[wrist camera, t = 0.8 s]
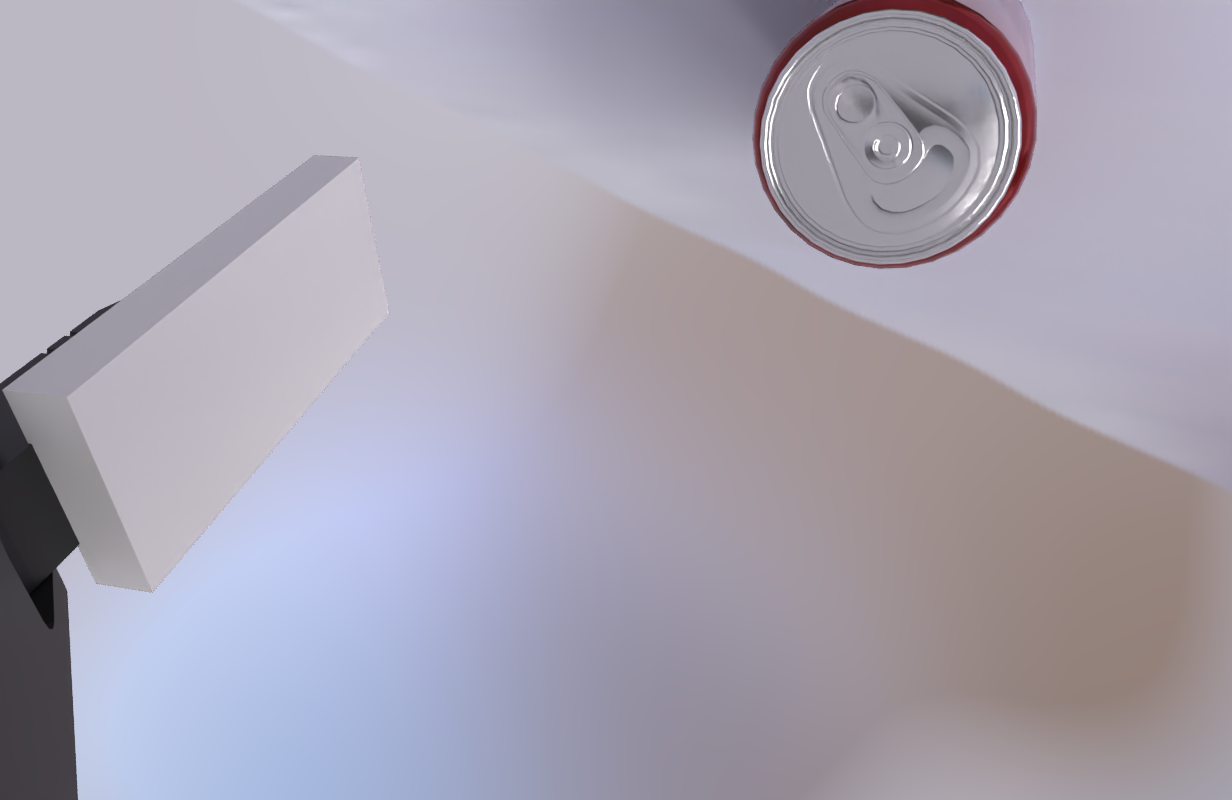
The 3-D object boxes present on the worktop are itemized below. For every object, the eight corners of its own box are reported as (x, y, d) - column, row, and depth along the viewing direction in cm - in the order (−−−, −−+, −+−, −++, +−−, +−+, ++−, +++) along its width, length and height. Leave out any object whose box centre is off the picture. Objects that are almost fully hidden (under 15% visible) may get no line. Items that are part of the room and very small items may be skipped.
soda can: (1073, 89, 33) (1093, 186, 24) (888, 199, 37) (839, 321, 28) (965, -96, 32) (939, -74, 22) (785, 38, 36) (695, 107, 26)
